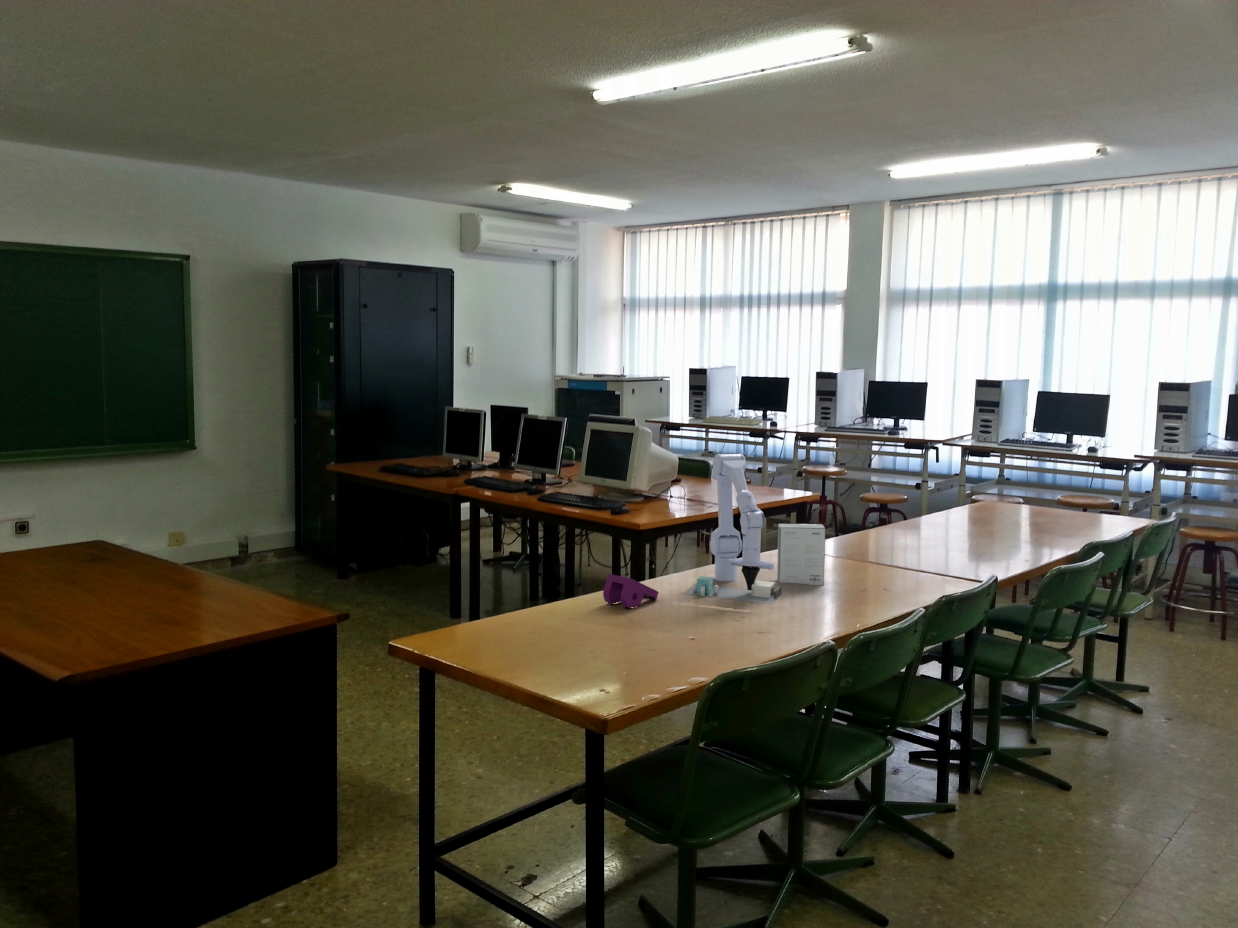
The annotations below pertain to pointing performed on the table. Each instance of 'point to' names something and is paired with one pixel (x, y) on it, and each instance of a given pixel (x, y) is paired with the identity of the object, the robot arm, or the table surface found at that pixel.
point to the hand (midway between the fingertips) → (750, 589)
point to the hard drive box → (801, 553)
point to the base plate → (734, 594)
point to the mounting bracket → (626, 591)
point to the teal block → (705, 584)
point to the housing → (763, 588)
